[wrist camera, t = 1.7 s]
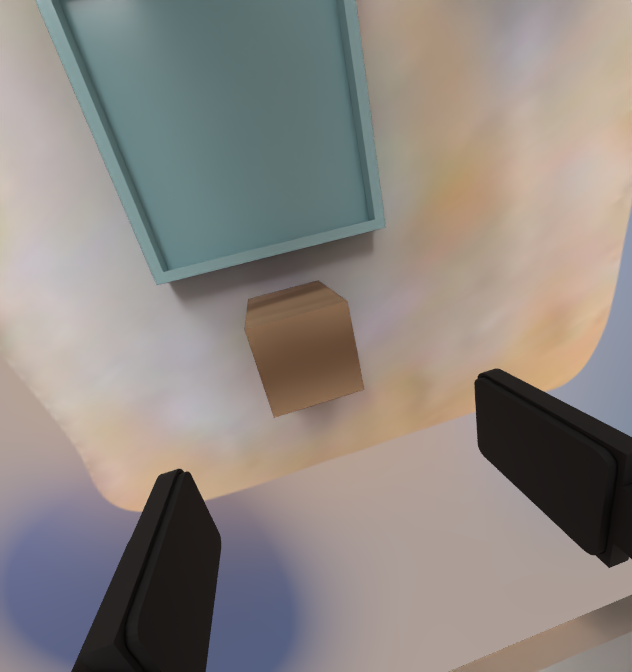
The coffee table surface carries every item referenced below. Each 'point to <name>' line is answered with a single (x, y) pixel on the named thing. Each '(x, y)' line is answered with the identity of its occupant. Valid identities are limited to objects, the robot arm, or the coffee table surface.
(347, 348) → the walnut block
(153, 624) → the robot arm
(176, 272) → the teal dish
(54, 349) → the coffee table surface
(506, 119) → the coffee table surface
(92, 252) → the coffee table surface
